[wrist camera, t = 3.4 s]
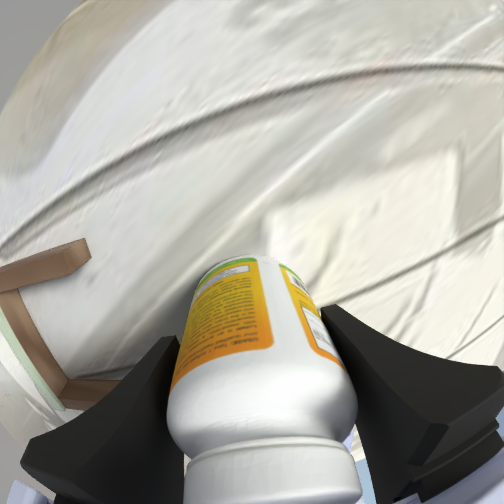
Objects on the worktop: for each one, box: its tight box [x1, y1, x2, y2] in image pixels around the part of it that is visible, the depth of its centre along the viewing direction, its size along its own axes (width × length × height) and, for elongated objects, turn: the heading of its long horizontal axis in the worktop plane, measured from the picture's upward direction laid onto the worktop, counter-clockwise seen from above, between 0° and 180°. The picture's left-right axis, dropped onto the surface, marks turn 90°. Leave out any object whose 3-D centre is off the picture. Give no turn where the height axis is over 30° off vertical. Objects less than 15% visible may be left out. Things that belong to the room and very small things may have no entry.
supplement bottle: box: [167, 255, 363, 504], centre depth 8 cm, size 5×5×10 cm
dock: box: [0, 238, 122, 411], centre depth 12 cm, size 10×8×2 cm
